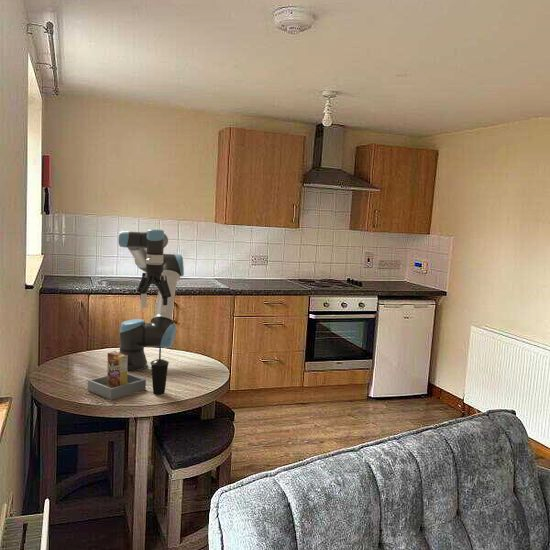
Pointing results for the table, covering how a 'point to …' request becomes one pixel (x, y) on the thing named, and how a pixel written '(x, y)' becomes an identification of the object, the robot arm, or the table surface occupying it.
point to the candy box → (117, 369)
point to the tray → (102, 389)
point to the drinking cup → (159, 374)
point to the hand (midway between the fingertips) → (153, 310)
